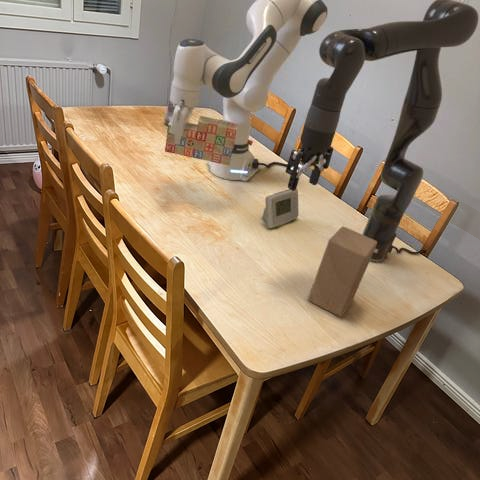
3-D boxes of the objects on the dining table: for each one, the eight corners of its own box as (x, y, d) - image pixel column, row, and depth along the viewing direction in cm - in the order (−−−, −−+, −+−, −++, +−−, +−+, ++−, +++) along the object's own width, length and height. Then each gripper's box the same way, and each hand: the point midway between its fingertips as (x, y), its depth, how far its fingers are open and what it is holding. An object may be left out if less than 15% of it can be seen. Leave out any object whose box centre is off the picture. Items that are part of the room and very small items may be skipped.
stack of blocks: (164, 152, 141) (168, 114, 134) (167, 145, 146) (172, 109, 140) (229, 165, 142) (237, 129, 136) (230, 158, 148) (238, 123, 141)
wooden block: (340, 318, 116) (366, 256, 105) (306, 300, 119) (328, 239, 108) (352, 300, 123) (378, 241, 113) (320, 283, 127) (342, 225, 116)
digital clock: (267, 230, 146) (275, 202, 140) (252, 217, 152) (258, 189, 146) (303, 223, 155) (312, 197, 149) (287, 210, 161) (295, 184, 155)
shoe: (204, 141, 203) (208, 115, 196) (182, 142, 197) (185, 115, 190) (182, 121, 220) (185, 97, 213) (161, 121, 214) (164, 96, 207)
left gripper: (190, 108, 126) (184, 153, 133) (199, 90, 143) (192, 131, 150) (168, 103, 125) (163, 149, 133) (179, 86, 143) (174, 127, 150)
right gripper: (313, 134, 97) (295, 198, 106) (350, 128, 107) (330, 188, 115) (289, 122, 102) (273, 184, 110) (326, 117, 111) (308, 176, 119)
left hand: (179, 139), depth 142 cm, fingers closed on stack of blocks, 6 cm apart
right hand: (302, 186), depth 113 cm, fingers open, 8 cm apart
